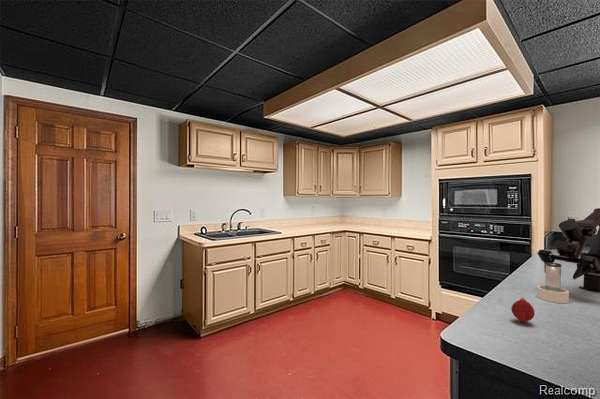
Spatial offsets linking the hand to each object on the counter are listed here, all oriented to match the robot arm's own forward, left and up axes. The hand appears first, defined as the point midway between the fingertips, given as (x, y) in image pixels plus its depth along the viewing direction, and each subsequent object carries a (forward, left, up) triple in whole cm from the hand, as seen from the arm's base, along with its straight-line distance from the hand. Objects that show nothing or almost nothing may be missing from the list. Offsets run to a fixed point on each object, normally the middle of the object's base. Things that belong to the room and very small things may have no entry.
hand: (558, 275), depth 117 cm
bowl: (+4, 0, -9) cm, 10 cm away
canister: (+4, +1, -8) cm, 9 cm away
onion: (+39, +13, -9) cm, 42 cm away
